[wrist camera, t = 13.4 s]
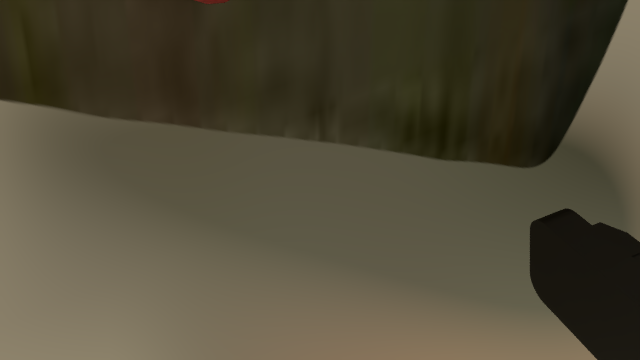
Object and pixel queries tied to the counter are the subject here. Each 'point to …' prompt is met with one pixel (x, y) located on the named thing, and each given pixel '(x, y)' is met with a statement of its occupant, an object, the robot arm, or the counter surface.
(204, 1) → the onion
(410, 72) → the counter surface
